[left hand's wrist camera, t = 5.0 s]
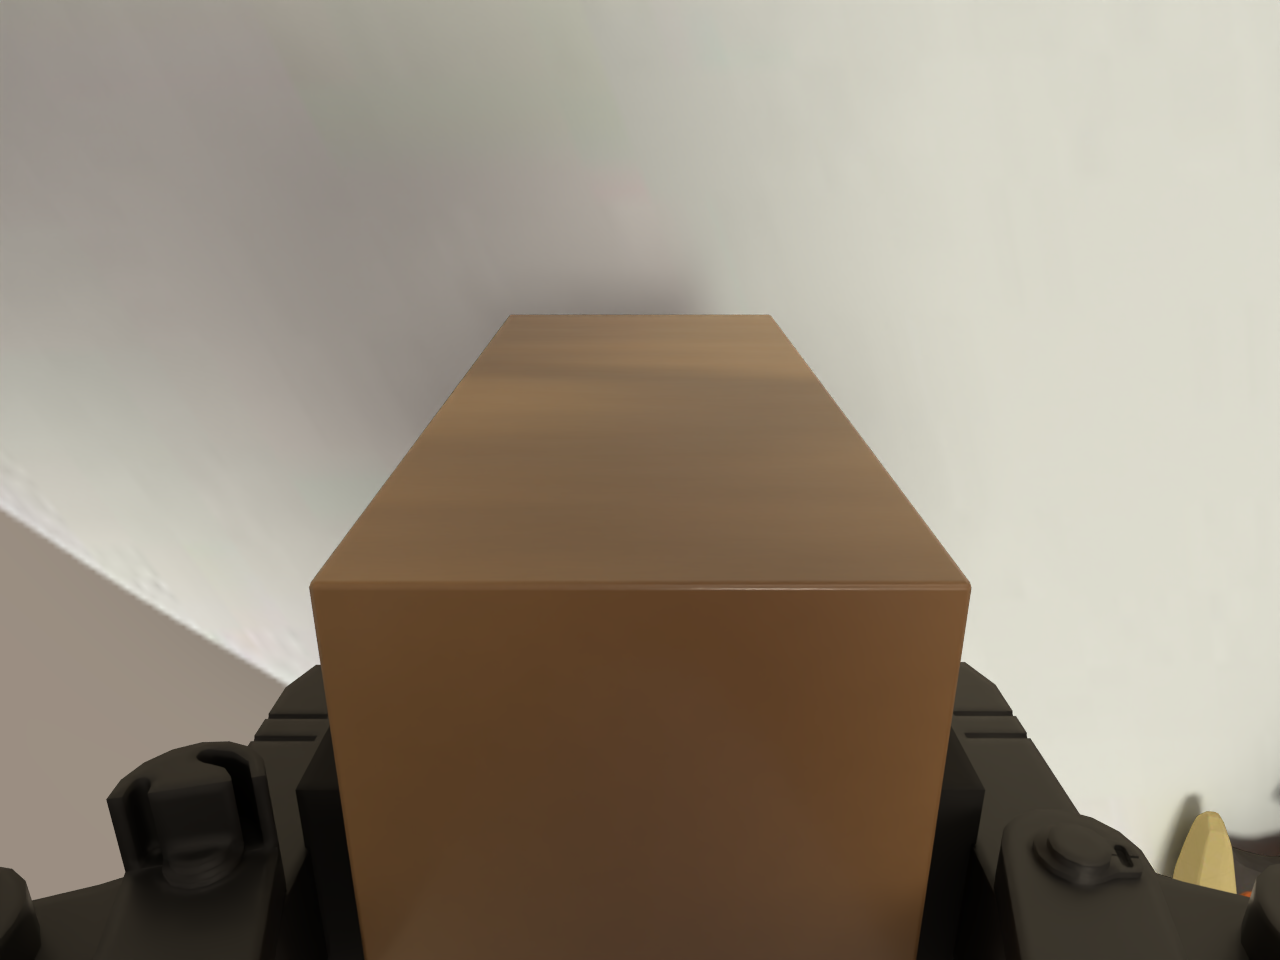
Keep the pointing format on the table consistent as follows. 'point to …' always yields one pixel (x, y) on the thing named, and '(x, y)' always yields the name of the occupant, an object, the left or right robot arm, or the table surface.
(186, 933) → the left robot arm
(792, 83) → the table surface
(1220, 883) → the toy gun
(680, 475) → the block
